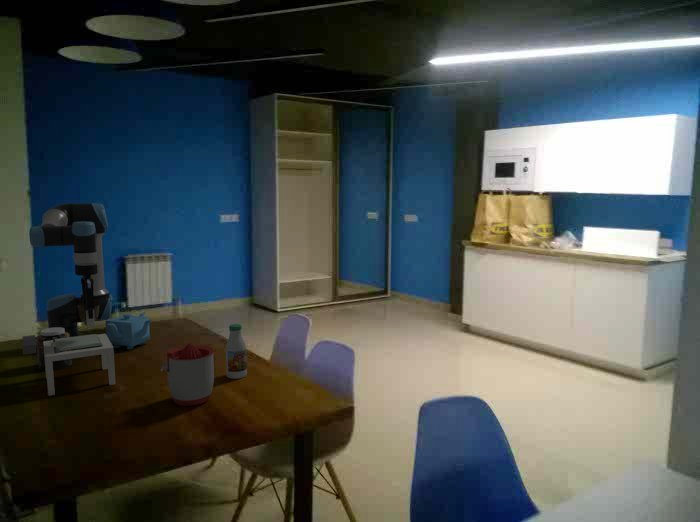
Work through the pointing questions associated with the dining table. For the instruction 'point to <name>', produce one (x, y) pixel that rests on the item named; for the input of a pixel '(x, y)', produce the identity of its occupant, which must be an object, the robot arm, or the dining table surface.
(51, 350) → the frame
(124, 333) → the teakettle
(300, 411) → the dining table surface
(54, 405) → the dining table surface
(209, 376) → the citrus juicer
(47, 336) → the jar
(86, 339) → the trapdoor
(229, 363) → the milk bottle
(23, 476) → the dining table surface
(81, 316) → the cup
